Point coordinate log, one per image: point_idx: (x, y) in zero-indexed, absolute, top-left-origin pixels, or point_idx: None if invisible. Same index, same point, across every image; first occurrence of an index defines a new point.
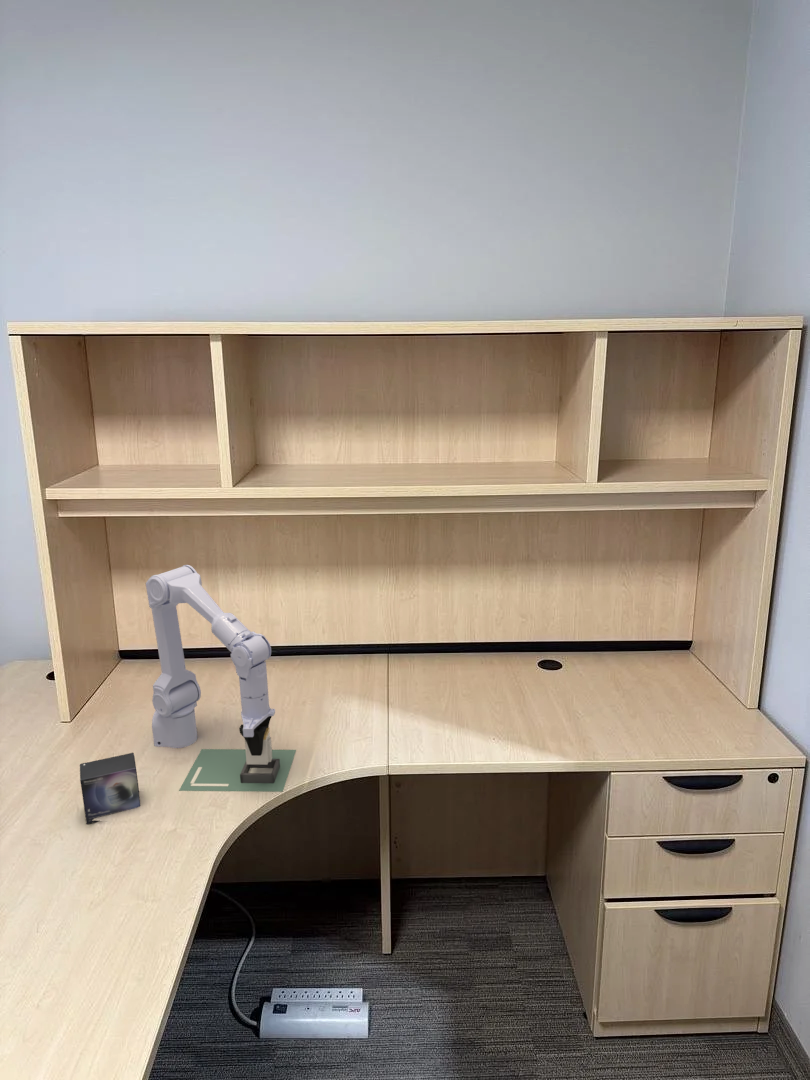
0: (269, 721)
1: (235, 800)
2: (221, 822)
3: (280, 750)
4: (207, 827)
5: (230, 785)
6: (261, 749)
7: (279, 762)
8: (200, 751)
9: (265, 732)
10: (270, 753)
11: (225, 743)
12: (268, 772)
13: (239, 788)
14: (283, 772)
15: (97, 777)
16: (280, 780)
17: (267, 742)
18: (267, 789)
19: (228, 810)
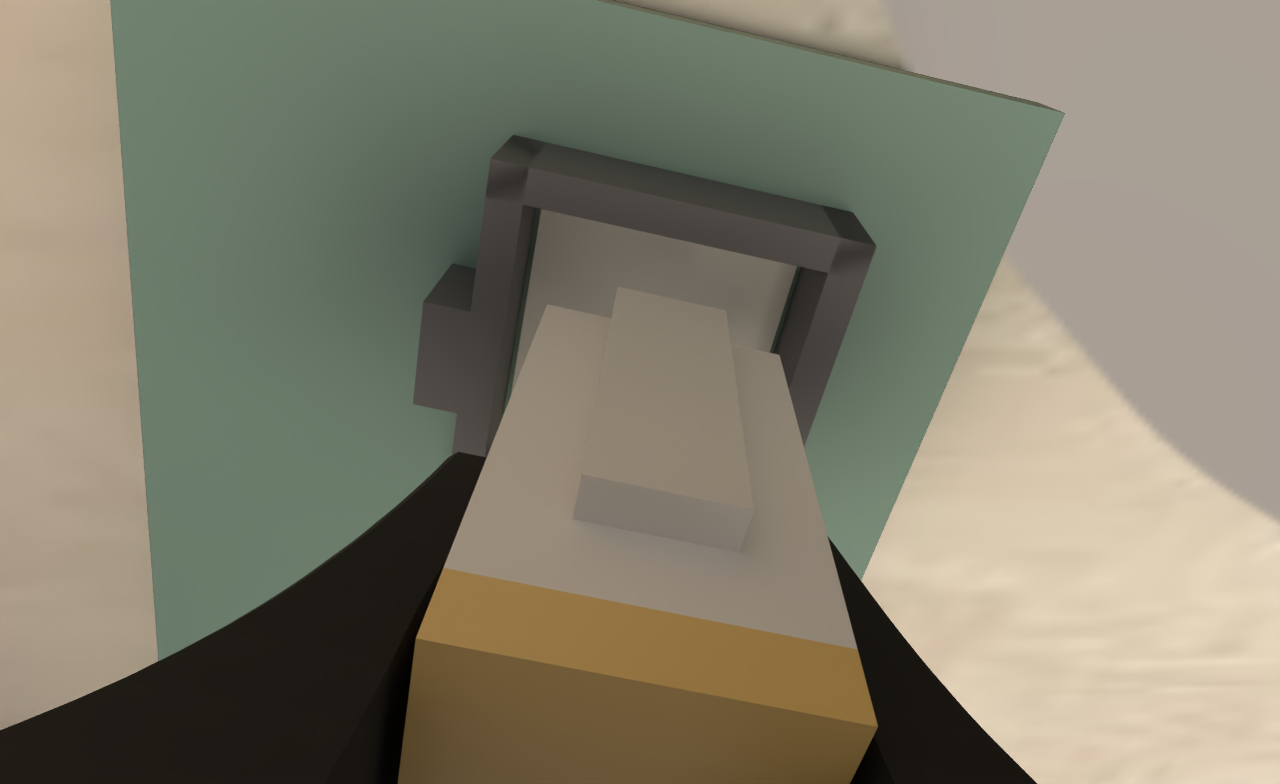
0: (292, 777)
1: (918, 535)
2: (1180, 623)
3: (141, 118)
4: (1191, 701)
5: None
6: (872, 597)
7: (512, 150)
8: None
9: (671, 724)
10: (714, 363)
11: (14, 613)
12: (621, 273)
13: (837, 538)
14: (648, 91)
15: None
16: (818, 135)
17: (740, 531)
18: (948, 287)
19: (1041, 581)
